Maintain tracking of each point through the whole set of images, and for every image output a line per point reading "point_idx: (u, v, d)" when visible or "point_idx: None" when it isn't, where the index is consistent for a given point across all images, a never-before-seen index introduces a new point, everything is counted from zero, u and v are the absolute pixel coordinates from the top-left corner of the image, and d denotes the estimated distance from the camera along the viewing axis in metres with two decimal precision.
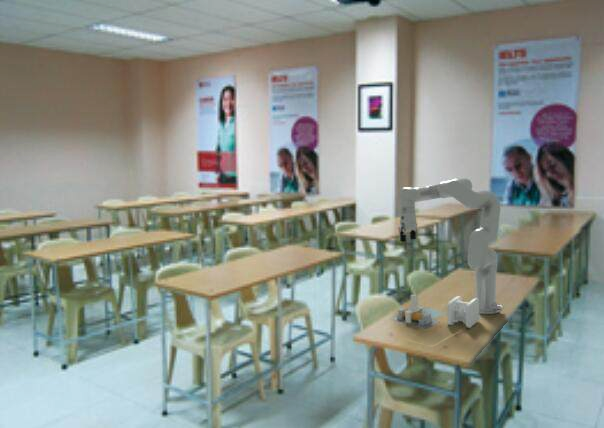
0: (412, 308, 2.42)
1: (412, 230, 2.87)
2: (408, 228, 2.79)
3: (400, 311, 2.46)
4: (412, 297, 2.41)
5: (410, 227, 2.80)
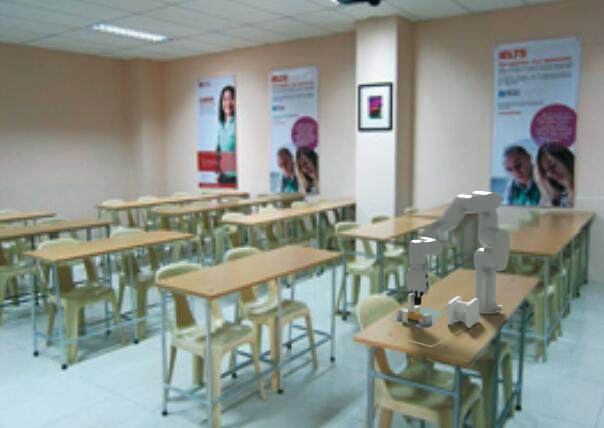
0: (409, 307, 2.43)
1: (415, 293, 2.41)
2: None
3: (400, 311, 2.46)
4: (409, 296, 2.42)
5: None
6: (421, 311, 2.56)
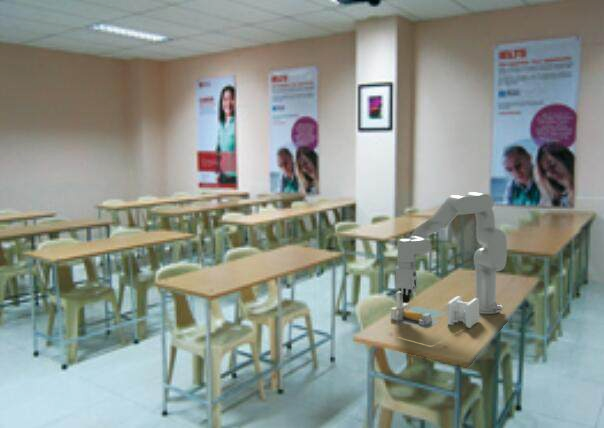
0: (397, 305, 2.47)
1: None
2: None
3: (400, 311, 2.46)
4: (397, 294, 2.47)
5: None
6: (421, 311, 2.56)
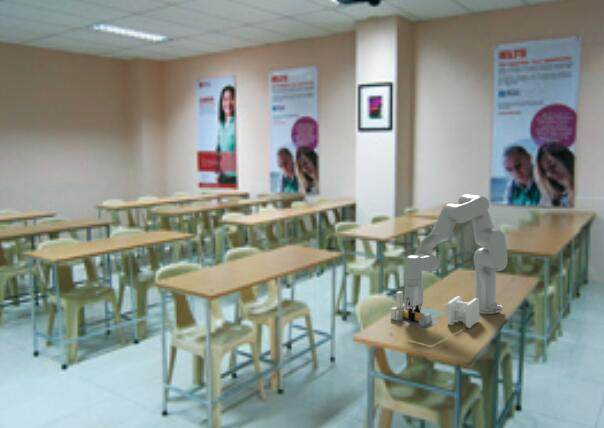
0: (397, 305, 2.47)
1: None
2: None
3: (400, 311, 2.46)
4: (397, 294, 2.47)
5: None
6: (421, 311, 2.56)
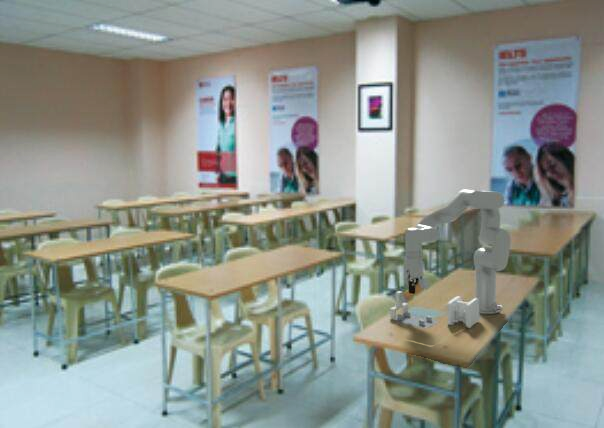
0: (397, 305, 2.48)
1: None
2: None
3: (401, 294, 2.45)
4: (397, 294, 2.47)
5: None
6: (421, 311, 2.56)
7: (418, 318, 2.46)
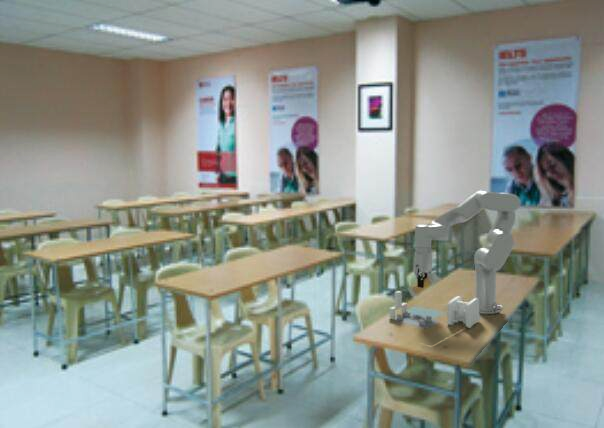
0: (396, 304, 2.48)
1: None
2: None
3: (410, 288, 2.56)
4: (396, 294, 2.47)
5: None
6: (421, 311, 2.56)
7: (418, 318, 2.46)
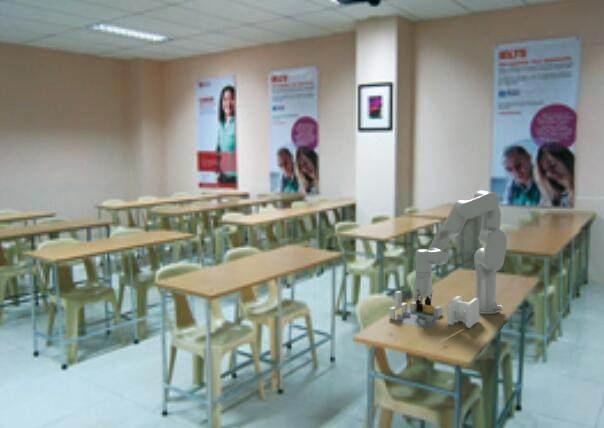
0: (396, 304, 2.48)
1: None
2: None
3: (412, 304, 2.56)
4: (396, 294, 2.47)
5: None
6: None
7: (418, 318, 2.46)
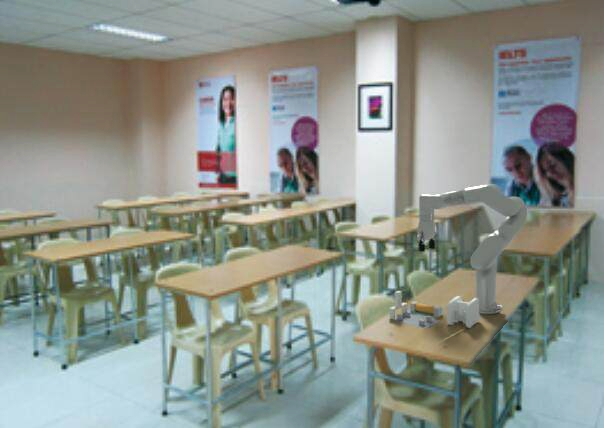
0: (396, 304, 2.48)
1: (422, 242, 2.66)
2: None
3: (412, 304, 2.56)
4: (396, 294, 2.47)
5: None
6: None
7: (418, 318, 2.46)
